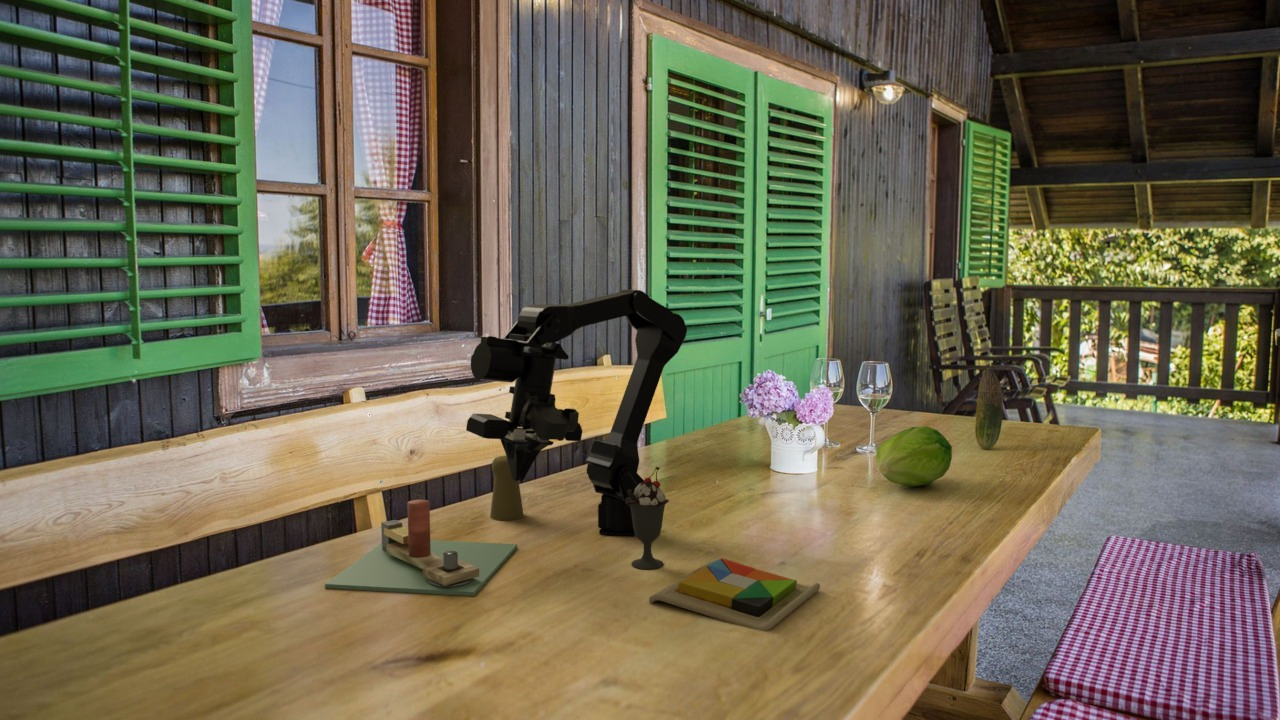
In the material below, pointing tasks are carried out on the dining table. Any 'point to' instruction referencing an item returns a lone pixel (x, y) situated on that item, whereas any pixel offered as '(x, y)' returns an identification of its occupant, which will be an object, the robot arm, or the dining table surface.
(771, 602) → the wooden puzzle
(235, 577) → the dining table surface
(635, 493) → the sundae
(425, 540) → the latch bar
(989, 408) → the vegetable
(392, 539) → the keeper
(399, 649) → the dining table surface
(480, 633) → the dining table surface
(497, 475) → the cork
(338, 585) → the latch board
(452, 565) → the pintle
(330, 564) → the dining table surface
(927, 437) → the green oval lump
